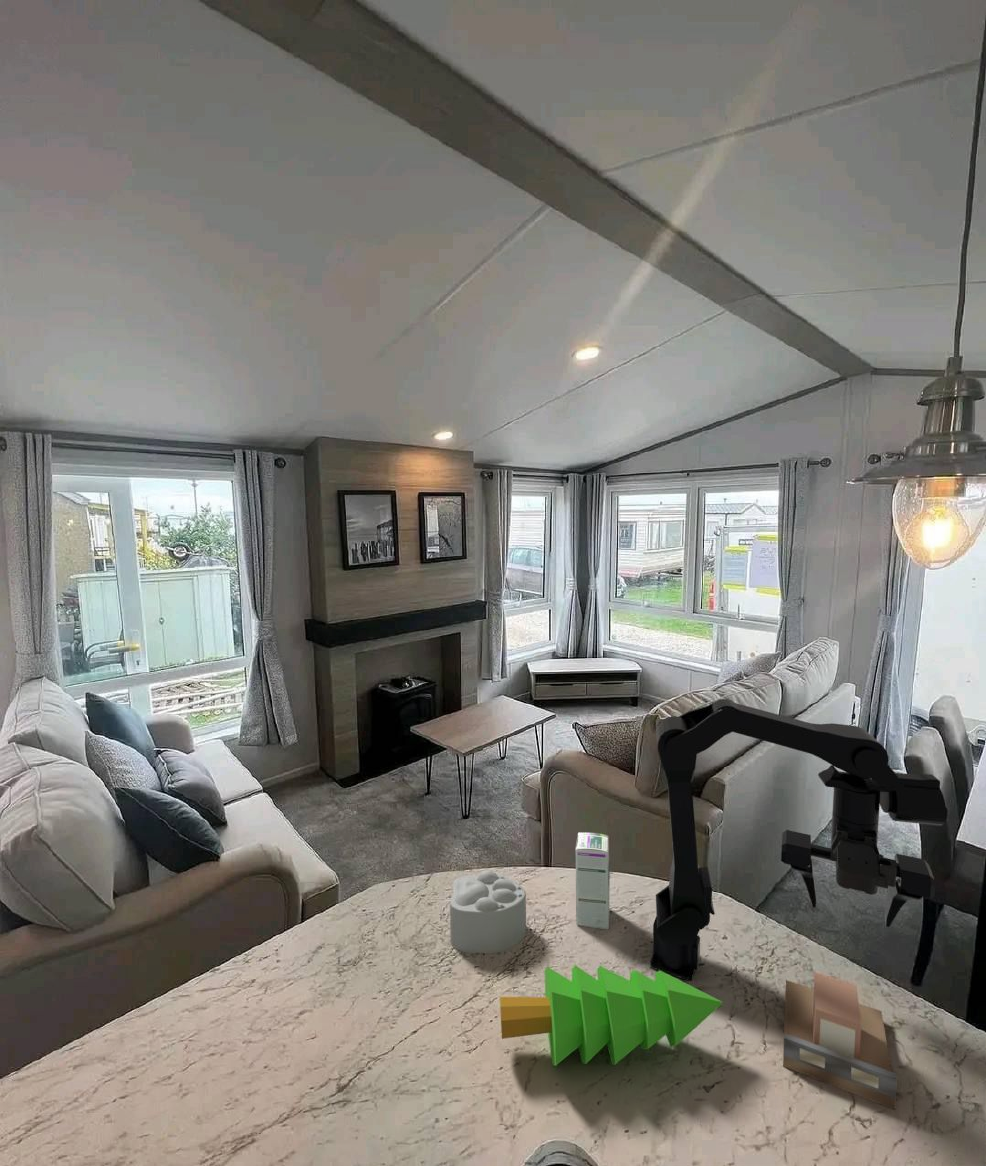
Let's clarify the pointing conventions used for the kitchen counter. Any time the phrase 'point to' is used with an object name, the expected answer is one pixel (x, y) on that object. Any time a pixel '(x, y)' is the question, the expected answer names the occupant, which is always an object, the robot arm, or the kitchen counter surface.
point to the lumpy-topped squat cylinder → (487, 913)
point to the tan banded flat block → (832, 1067)
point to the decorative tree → (606, 1012)
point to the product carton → (836, 1015)
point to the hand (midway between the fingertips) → (849, 915)
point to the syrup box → (592, 880)
